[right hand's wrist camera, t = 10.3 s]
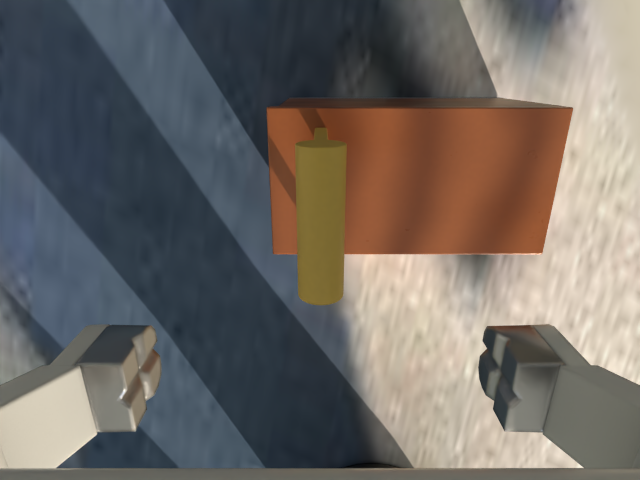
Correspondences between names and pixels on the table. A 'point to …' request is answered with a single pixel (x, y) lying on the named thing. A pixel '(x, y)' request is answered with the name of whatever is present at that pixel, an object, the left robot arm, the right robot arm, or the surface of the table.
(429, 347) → the table surface
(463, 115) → the wooden door with handle
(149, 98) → the table surface
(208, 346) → the table surface
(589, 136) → the table surface
